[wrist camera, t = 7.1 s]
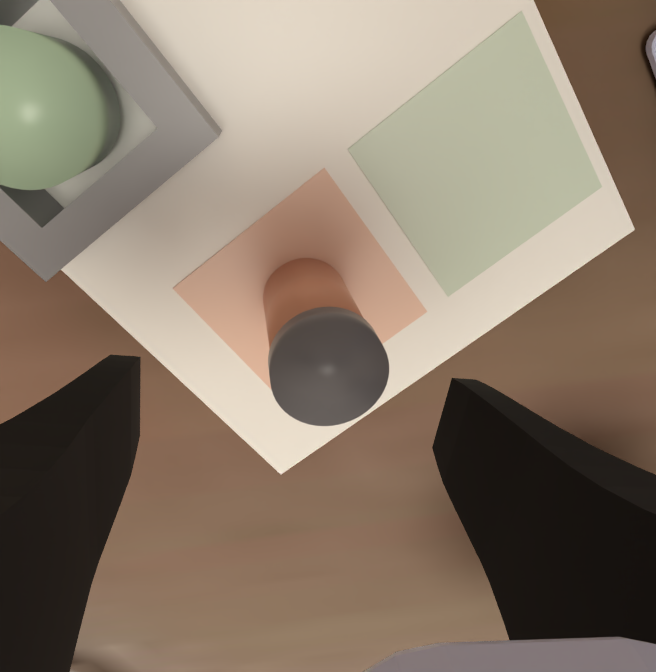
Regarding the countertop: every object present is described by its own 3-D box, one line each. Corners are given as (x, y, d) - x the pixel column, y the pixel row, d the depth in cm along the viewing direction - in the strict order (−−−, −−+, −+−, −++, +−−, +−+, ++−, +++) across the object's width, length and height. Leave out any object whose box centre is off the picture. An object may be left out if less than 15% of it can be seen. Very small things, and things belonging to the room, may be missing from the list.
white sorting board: (622, 224, 22) (679, 245, 19) (280, 463, 25) (284, 513, 22) (342, -392, 13) (368, -522, 10) (-129, 76, 16) (-210, 75, 13)
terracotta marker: (359, 265, 20) (404, 332, 15) (335, 344, 21) (370, 432, 16) (270, 246, 19) (285, 310, 14) (252, 330, 20) (258, 418, 15)
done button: (147, 121, 16) (127, 128, 14) (59, 197, 17) (23, 219, 14) (47, 4, 15) (3, -14, 12) (-46, 93, 15) (-108, 95, 13)
